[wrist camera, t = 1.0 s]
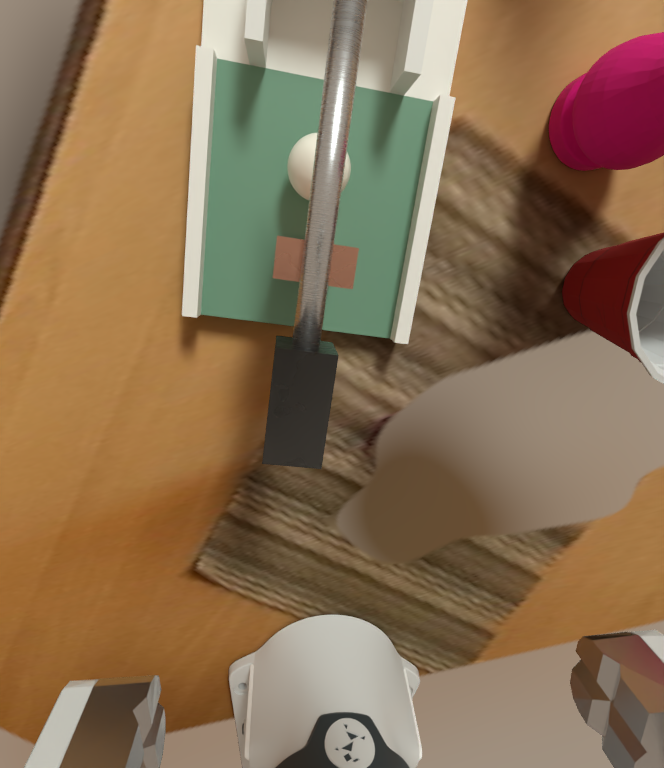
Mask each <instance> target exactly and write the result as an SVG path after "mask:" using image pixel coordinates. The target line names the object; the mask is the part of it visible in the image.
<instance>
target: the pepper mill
mask: <svg viewBox="0 0 664 768" xmlns="http://www.w3.org/2000/svg"><path fill="white" fill-rule="evenodd" d="M549 139H550V142H551V146H552V148H553V151H554V152H555V154H556V156H557V157H558V158H559V160H560V161H561V162H562V163H564V164H565V165H567V166H568V167H570V168H572V169H576V170H582V171H587V170H594V169H598V168H602V167H604V168H607V169H614V170H624V169H631V168H635V167H638V166H641V165H644V164H647V163H650V162H652V161H654V160H656V159H658V158H660V157H661V156H663V155H664V32H662V33H656V34H650V35H644V36H640V37H637V38H634V39H631V40H629V41H627V42H625V43H622V44H620V45H618V46H616V47H615V48H613V49H611V50H610V51H608V52H607V53H606V54H604V55H603V56H602V57H601V58H600V59H599V60H598V61H597V62H596V63H595V64H594V65H593V66H592V67H591V68H590V70H589V71H588V72H587V73H586V74H584V75H582V76H580V77H578V78H577V79H575V80H574V81H572V82H571V83H570V84H569V85H568V86H566V88H565V89H564V90H563V91H562V92H561V94H560V95H559V97H558V98H557V100H556V102H555V104H554V106H553V109H552V111H551V116H550V121H549Z"/></svg>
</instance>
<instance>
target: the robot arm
mask: <svg viewBox="0 0 664 768" xmlns="http://www.w3.org/2000/svg"><path fill="white" fill-rule="evenodd" d="M576 652H577V654H578V655H579V657H580V658H581V660H580V661H579V662H578V663H577V664H576V666H574V667H573V669H572V673H571V680H570V684H571V689H572V695H573V699H574V701H575V703H576V706H577V708H578V710H579V712H580V714H581V716H582V717H583V719H584V720H585V722H586V724H587V725H588V726H590V727H591V728H592V729H594V730H595V731H596V732H598V733H599V734H600V735H602V749H603V751H604V753H605V754H606V756H607V757H608V759H609V760H610V762H611V764H612V765H613V767H614V768H664V635H663V634H662V633H660V632H659V631H657V630H647V631H636V632H621V633H611V634H602V635H592V636H583V637H582V638H581V639H580V640H579V641H578V644H577V648H576ZM419 683H420V678H419V672H418V670H417V668H416V667H415V666H414V665H413V664H411V663H410V662H408V661H407V660H405V659H404V658H402V657H401V656H400V655H399V654H398V653H397V651H396V649H395V648H394V646H393V644H392V642H391V641H390V639H389V638H388V637H387V636H386V635H385V634H384V633H383V632H382V631H381V630H380V629H378V628H377V627H376V626H374V625H372V624H370V623H369V622H366V621H364V620H361V619H358V618H355V617H350V616H344V615H321V616H314V617H310V618H306V619H303V620H300V621H297V622H295V623H293V624H290V625H288V626H287V627H285V628H283V629H282V630H280V631H279V632H277V633H276V634H275V635H273V636H272V637H271V638H270V639H269V640H268V641H267V642H266V643H265V644H264V645H263V646H262V647H261V648H260V649H259V650H257V651H256V652H254V653H252V654H249V655H247V656H245V657H243V658H241V659H239V660H237V661H235V662H234V663H233V664H232V665H231V666H230V668H229V684H230V691H231V697H232V704H233V710H234V717H235V723H236V730H237V736H238V743H239V750H240V756H241V763H242V768H416V767H417V765H418V761H419V760H420V759H421V758H422V747H421V742H420V737H419V732H418V727H417V722H416V717H415V712H414V707H413V703H412V698H413V696H414V694H415V692H416V690H417V688H418V686H419ZM160 692H161V686H160V681H159V676H156V675H152V676H136V677H119V678H103V679H92V680H78V681H70V682H69V683H68V684H67V685H66V686H65V688H64V689H63V690H62V691H61V693H60V695H59V697H58V699H57V701H56V703H55V705H54V707H53V709H52V712H51V714H50V716H49V718H48V720H47V722H46V724H45V726H44V728H43V730H42V732H41V734H40V736H39V738H38V740H37V742H36V744H35V746H34V748H33V750H32V752H31V755H30V756H29V759H28V760H27V762H26V764H25V766H24V768H160V764H161V759H162V755H163V748H164V739H165V712H164V708H163V707H162V706H161V705H160V704H159V703H158V700H159V696H160Z"/></svg>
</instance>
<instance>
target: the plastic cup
mask: <svg viewBox="0 0 664 768" xmlns="http://www.w3.org/2000/svg"><path fill="white" fill-rule="evenodd" d="M562 295H563V302H564V306H565V307H566V309H567V311H568V312H569V314H570V315H571V316H572V317H573V318H574V319H575V320H577V321H578V322H580V323H582V324H583V325H585V326H587V327H589V328H590V330H592V331H593V332H595V333H597V334H599V335H600V336H602V337H604V338H605V339H607V340H609V341H610V342H612V343H614V344H616V345H617V346H619V347H621V348H622V349H624V350H626V351H628V352H629V353H630V354H631V355H632V356H633V357H635V358H637V359H638V360H639V361H640V362H641V363H642V364H643V366H644V367H645V369H646V370H647V372H648V373H649V375H650V376H652V377H653V378H654V379H656V380H658V381H659V382H661V383H663V384H664V233H660V234H656V235H652V236H648V237H644V238H640V239H636V240H633V241H629V242H626V243H623V244H620V245H617V246H612V247H608V248H603V249H600V250H597V251H594V252H591V253H589V254H587V255H585V256H584V257H582V258H581V259H580V260H579V261H577V262H576V263H575V264H574V265H573V266H572V268H571V269H570V271H569V272H568V274H567V276H566V277H565V281H564V285H563V290H562Z"/></svg>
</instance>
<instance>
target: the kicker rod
mask: <svg viewBox="0 0 664 768" xmlns="http://www.w3.org/2000/svg"><path fill="white" fill-rule="evenodd" d="M367 2H368V0H334V2H333V10H332V18H331V26H330V34H329V43H328V51H327V59H326V67H325V76H324V84H323V92H322V100H321V108H320V117H319V125H318V133H317V141H316V150H315V158H314V166H313V174H312V182H311V191H310V199H309V207H308V215H307V224H306V232H305V240H302V239H296V238H289V237H283V236H277V241H276V251H275V260H274V270H273V278H275V279H282V280H289V281H296V282H299V289H298V298H297V306H296V314H295V322H294V330H293V338H292V337H284V336H276V345H275V354H274V363H273V372H272V381H271V390H270V399H269V408H268V417H267V426H266V434H265V444H264V453H263V462H262V464H271V465H282V466H294V467H305V468H317V469H321V467H322V460H323V454H324V447H325V441H326V434H327V427H328V421H329V414H330V408H331V401H332V394H333V388H334V381H335V375H336V368H337V361H338V354H337V351H336V349H335V347H334V345H333V343H332V342H324V341H321V333H322V326H323V319H324V312H325V305H326V297H327V290H328V286H332V287H339V288H347V289H353V284H354V278H355V271H356V265H357V258H358V252H359V248H355V247H348V246H342V245H335V244H334V240H335V233H336V225H337V218H338V211H339V204H340V197H341V189H342V182H343V175H344V168H345V161H346V154H347V146H348V139H349V132H350V125H351V118H352V110H353V103H354V96H355V89H356V82H357V74H358V67H359V60H360V53H361V46H362V38H363V31H364V24H365V17H366V10H367Z"/></svg>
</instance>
